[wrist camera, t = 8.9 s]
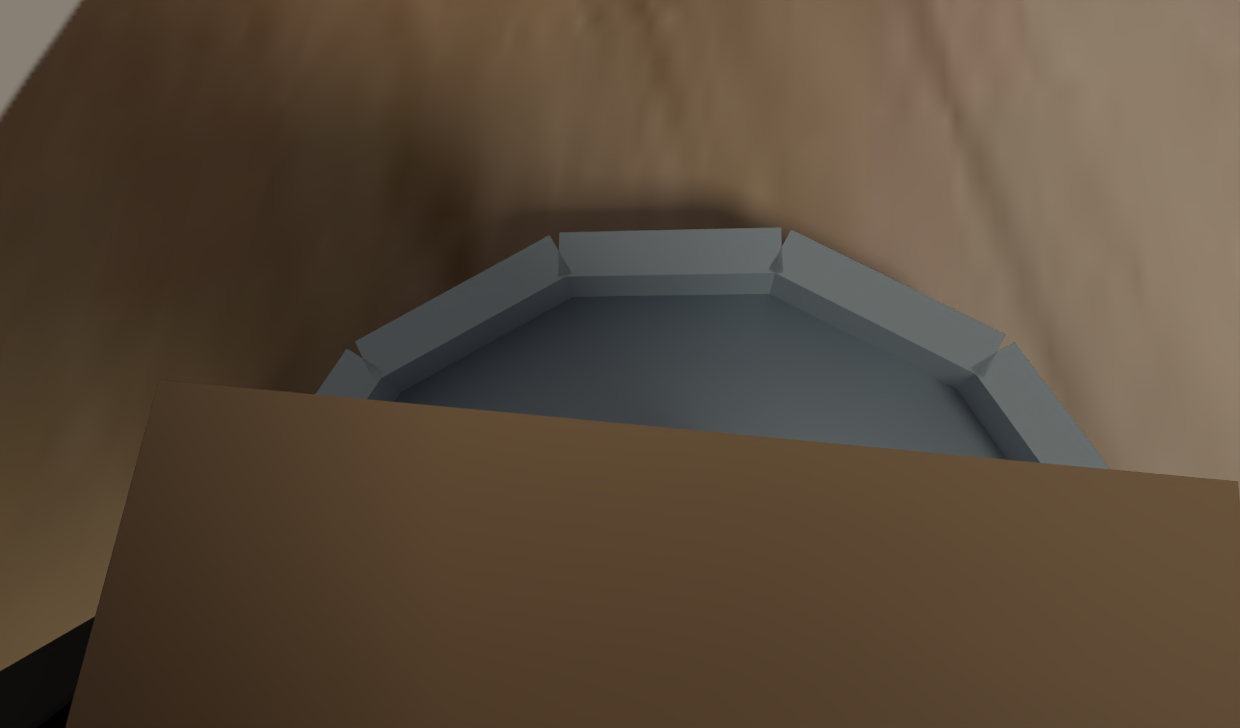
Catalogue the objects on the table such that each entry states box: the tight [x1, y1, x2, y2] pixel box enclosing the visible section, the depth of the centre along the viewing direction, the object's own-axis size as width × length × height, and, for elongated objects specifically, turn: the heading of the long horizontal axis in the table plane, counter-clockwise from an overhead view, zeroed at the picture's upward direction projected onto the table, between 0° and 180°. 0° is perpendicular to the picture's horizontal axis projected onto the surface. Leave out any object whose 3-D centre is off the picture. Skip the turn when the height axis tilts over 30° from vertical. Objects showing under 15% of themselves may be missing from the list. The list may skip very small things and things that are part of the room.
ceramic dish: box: [316, 227, 1110, 469], centre depth 15 cm, size 18×18×2 cm
